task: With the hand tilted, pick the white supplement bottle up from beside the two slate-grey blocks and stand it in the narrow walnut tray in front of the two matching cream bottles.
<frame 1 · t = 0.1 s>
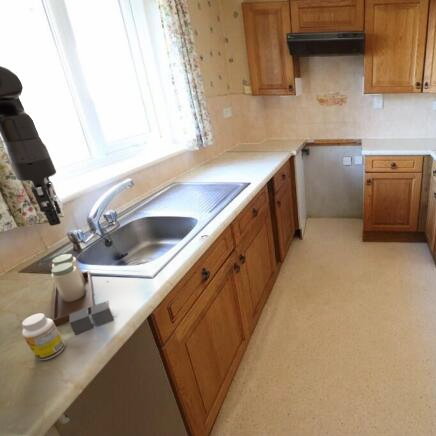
hand: (56, 219, 84), 26 cm above the counter, tool pointing down, fingers open, 8 cm apart
cream bottles: (74, 290, 98), resting on tray
grey blocks: (94, 323, 85), on the counter
tray: (75, 300, 95), on the counter
supplement bottle: (51, 352, 77), on the counter
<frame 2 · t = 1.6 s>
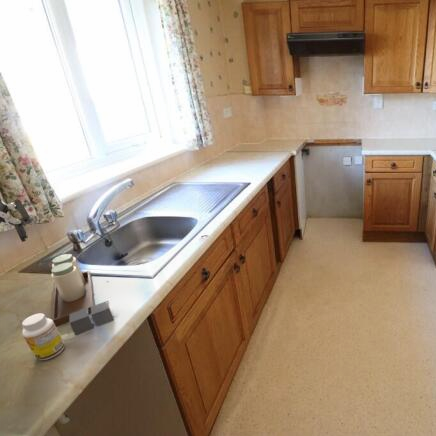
nothing on the counter moved.
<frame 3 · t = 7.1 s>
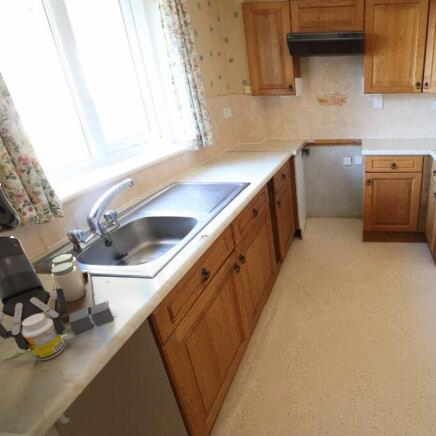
hand: (44, 341, 74), 5 cm above the counter, tool tilted 45°, fingers closed on supplement bottle, 5 cm apart
supplement bottle: (51, 352, 77), on the counter, touching gripper
when the fingers open (5 cm above the counter, at t = 15.1 s): supplement bottle stays where it is, resting on tray.
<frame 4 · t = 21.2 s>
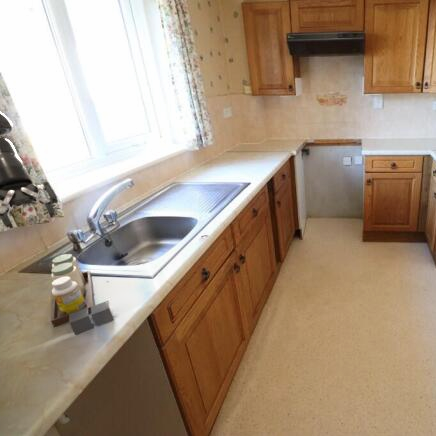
hand: (32, 221, 86), 25 cm above the counter, tool tilted 45°, fingers open, 8 cm apart
supplement bottle: (75, 311, 89), resting on tray
at the end: supplement bottle 0.2 cm from the target spot in the tray, point 0.4 cm above the tray's base; supplement bottle tilted 0°; supplement bottle 11.9 cm from the cream bottles (horizontally) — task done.
